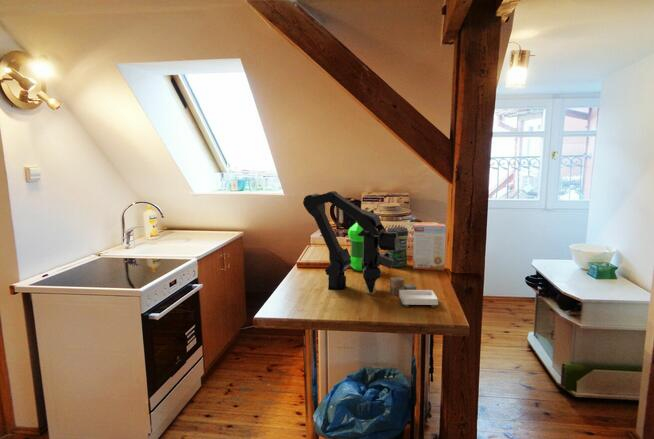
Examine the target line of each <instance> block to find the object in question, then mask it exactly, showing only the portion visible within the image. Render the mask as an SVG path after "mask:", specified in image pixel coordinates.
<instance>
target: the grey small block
mask: <svg viewBox="0 0 654 439" xmlns="http://www.w3.org/2000/svg"><path fill="white" fill-rule="evenodd" d="M404 290H417V286H416V285H414V284H404Z"/></svg>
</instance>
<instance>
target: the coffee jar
mask: <svg viewBox="0 0 654 439" xmlns="http://www.w3.org/2000/svg"><path fill="white" fill-rule="evenodd" d="M387 232H397V233H398V237H399V240H400V244H399V249H398V251H389V250H386V251H387V253H389V255H390V257H392V258H393V260H394V262H393V265H392V267H391V268H396V269H397V268H402V267H407V265H408V256H407V255H408V254H407V241H408V237H409V230H408V228H407V227H404V226H395V227H394V226H393V227H389V228H388V229H387Z"/></svg>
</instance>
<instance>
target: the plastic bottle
mask: <svg viewBox="0 0 654 439" xmlns="http://www.w3.org/2000/svg"><path fill="white" fill-rule="evenodd" d="M362 230H363V228H361V227H360V226H359V225H358V223H357V222H356V221H355V223H354V224H353V225H352V226H350V227H349V228H348V230H347V231H348V232H347V236H348V238H349V240H350V254H349V255H350V256H351V258H350V259H351V264H350V266H349V267H351V268H352V269H353V270H354V271H357V272H359V271H362V272H363V269H362V264H361V258H363V236H358V234H359V233H360V232H361V231H362Z"/></svg>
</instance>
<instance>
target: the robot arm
mask: <svg viewBox="0 0 654 439" xmlns="http://www.w3.org/2000/svg"><path fill="white" fill-rule="evenodd" d="M327 203H329V204H332V205H333V206H335V207H337V208H338V209H339V210H341V211H343V212H344V213H345V214H347V215H348V216H349V217H351V218H352V219H354V221H355V223H356V222H357V223H358V225H359V226H360V227H361V228H363V230H362V231H361V232H360V233H359V234H358V236H363V258H361V264H362V269H363V270H362V277H363V280H364V283H365V282H366V285H367V287H368V290H369V292H370V293H372V292H373V289H374V285H375V281H376V282H377V280H378V279H380V278H381V277H382V271H381V269H380V267H381V266H382V267H386V268H387V269H389V270H390V269H392V268H393V267H392V265H393V262H394V260H393V258H392V257H390V255H389V253H387V252H386V251H387V250H389V251H398V249H399V244H400V240H399V237H398V233H397V232H388V231H387V229H386V227H384V225H383V223H382V220H381V217H380V216H379V215H378V214H376V213H373V212H371V211H368V210H365V209H363V208H360V207H359V206H357V205H355V203H353V202H352V201H350V200H348V199H347V198H345V197H343V196H342V195H340V194H339V193H338V192H337V191H335V190H331V191H328V192H326V193H322V194H319V193H312V194H307V195H306V196H304V198H303V202H302V204H303V207H304V208H305V209H306V211H307V213H308V214H309V215H310V216H312V217H313V218H314V221H315V223H316V225H317V228H318V229H319V233H320V234H321V236H322V238H323V241H324V243H325V245H326V248H327V249H328V260H329V263H330V265H328V267H326V268H325V270H324V271H325V274H326V275H327V276H328V282H327V283H328V285H327V289H328V291H333V290H334V291H345V288H346V287H347V276H346V275H345V272H346V271H347V269H348V268H349V267H351V266H350V264H351V259H350V258H351V256H350V255H351V254H350V253H349V252H350V251H349V250H348V247H346V248H343V247H342V246H341V244H340V243H339V240H338V238H337V236H336V234H335V231H334V229H333V227H332V225H331V223H330V220H329V218H328V216H327V214H326V204H327ZM379 249H381V250H383V251H385V252H384V253H380V250H379Z"/></svg>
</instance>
